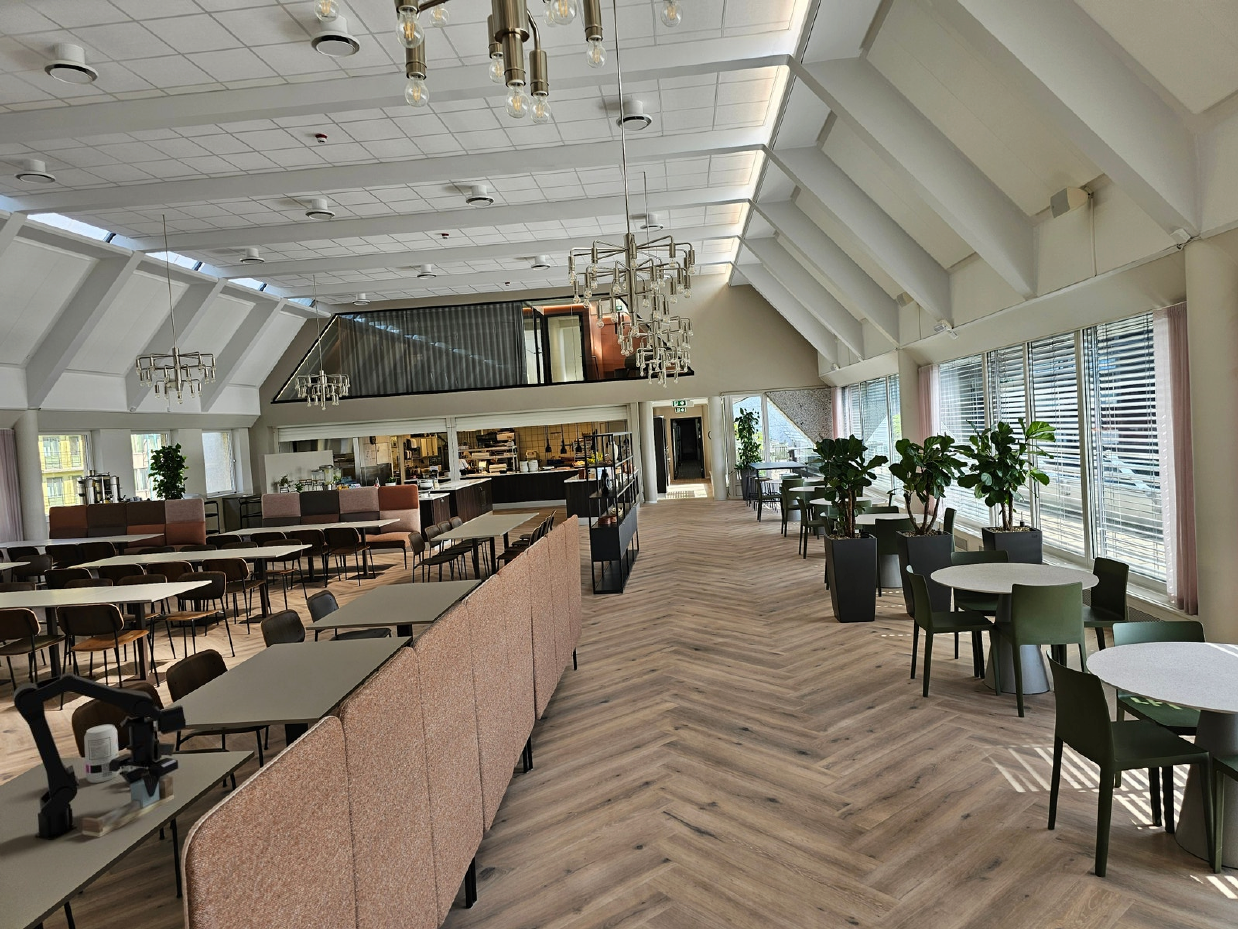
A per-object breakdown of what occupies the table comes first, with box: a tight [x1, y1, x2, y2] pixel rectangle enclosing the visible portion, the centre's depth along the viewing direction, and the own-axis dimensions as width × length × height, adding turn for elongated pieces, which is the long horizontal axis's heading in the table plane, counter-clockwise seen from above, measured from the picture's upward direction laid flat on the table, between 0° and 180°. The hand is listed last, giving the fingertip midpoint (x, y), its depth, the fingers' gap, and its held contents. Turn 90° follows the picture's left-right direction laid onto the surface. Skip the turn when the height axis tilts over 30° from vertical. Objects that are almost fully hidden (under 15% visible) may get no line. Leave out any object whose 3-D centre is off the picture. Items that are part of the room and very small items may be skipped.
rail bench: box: [81, 774, 175, 838], centre depth 206 cm, size 23×6×6 cm, turn 163°
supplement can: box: [83, 723, 120, 784], centre depth 231 cm, size 8×8×15 cm
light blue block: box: [129, 778, 159, 808], centre depth 210 cm, size 5×4×6 cm
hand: (145, 795), depth 210 cm, fingers closed on light blue block, 4 cm apart
